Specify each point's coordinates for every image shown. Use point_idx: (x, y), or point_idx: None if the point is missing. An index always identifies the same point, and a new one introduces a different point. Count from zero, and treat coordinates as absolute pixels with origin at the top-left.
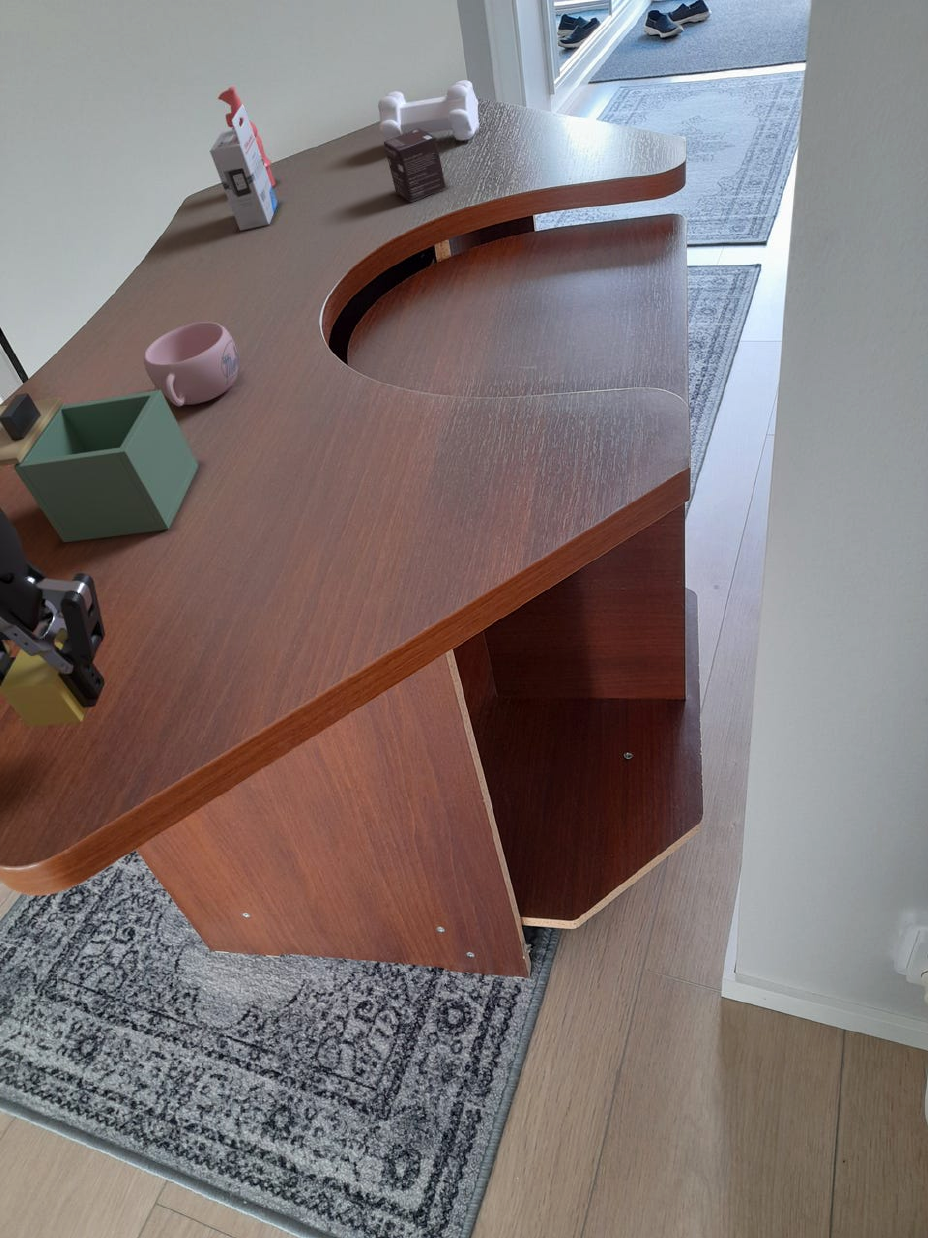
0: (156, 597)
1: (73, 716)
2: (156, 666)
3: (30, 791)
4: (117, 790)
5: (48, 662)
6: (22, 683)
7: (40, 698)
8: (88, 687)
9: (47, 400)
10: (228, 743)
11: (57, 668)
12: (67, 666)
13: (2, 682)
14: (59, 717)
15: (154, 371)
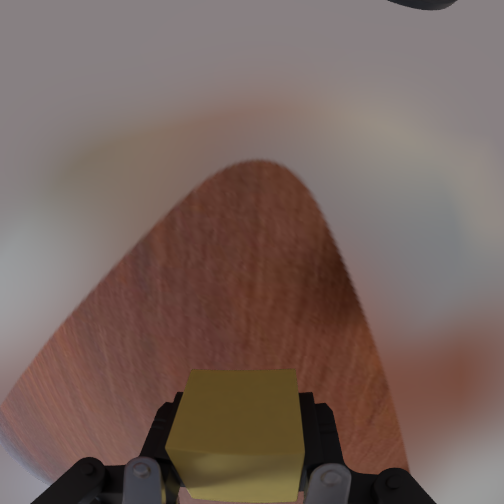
0: None
1: (193, 380)
2: None
3: (315, 271)
4: (169, 266)
5: (160, 490)
6: (245, 460)
7: (223, 423)
8: (158, 423)
9: None
10: (71, 318)
11: (153, 473)
12: (129, 470)
13: (302, 463)
14: (221, 381)
15: None
